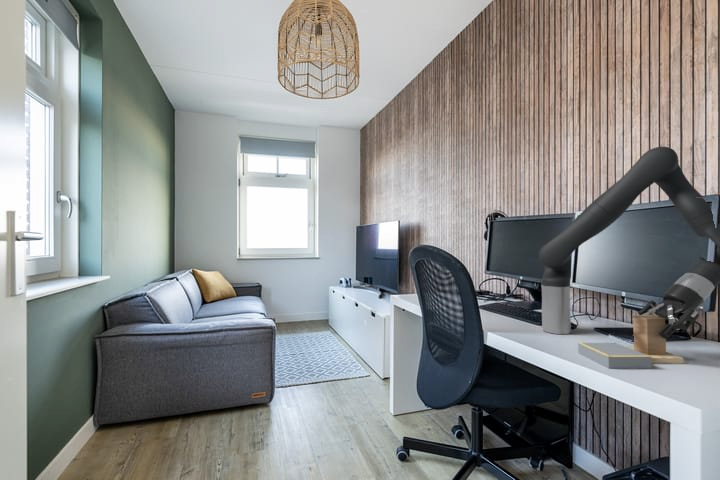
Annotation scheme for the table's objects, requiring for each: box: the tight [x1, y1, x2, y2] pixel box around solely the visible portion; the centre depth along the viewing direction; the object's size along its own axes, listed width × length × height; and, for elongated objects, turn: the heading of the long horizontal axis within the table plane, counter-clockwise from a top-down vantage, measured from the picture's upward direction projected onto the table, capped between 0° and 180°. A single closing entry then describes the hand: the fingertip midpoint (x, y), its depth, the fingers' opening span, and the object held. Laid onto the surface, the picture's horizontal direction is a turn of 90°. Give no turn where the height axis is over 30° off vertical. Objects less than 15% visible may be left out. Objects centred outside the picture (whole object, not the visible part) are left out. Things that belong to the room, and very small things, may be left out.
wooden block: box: [632, 314, 667, 355], centre depth 98 cm, size 5×5×10 cm
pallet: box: [626, 346, 685, 365], centre depth 97 cm, size 10×10×2 cm
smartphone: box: [608, 333, 634, 347], centre depth 113 cm, size 7×1×15 cm
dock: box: [577, 342, 652, 369], centre depth 96 cm, size 13×11×3 cm
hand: (648, 332), depth 98 cm, fingers open, 8 cm apart
